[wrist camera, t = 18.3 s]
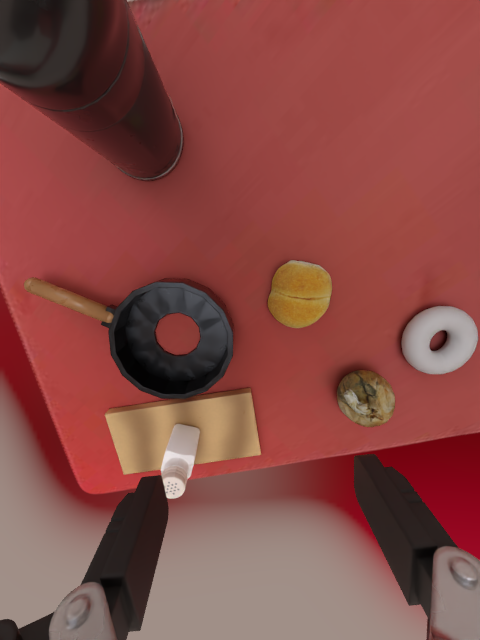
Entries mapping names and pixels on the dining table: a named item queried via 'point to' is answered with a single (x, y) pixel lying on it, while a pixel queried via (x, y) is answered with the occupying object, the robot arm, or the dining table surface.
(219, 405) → the board
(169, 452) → the pepper shaker
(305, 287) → the bread roll
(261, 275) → the dining table surface
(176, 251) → the dining table surface
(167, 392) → the pan
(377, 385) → the onion
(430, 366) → the donut
